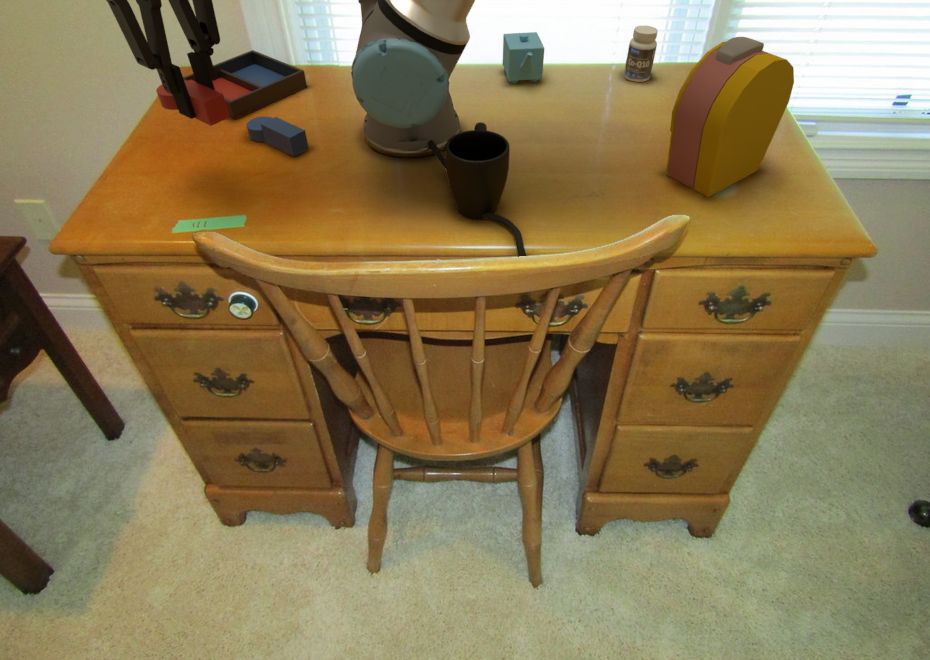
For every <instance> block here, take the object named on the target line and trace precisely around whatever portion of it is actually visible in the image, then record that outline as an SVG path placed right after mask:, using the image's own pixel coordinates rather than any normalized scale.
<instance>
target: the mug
mask: <svg viewBox="0 0 930 660" xmlns="http://www.w3.org/2000/svg"><path fill="white" fill-rule="evenodd" d="M487 128H488V127H487V124H486V123H485V122H482V121H479V122H477V123H475V125H474V129H471V130H465V131H460V133H458V134H456V135H454V136H452V137H451V138H450V139H449V140H448V141H447V143H446V145H445V150H444V152H445V158H446V169H445V171H446V177H447V182H448V186H449V189H450V193H451V195H452V199H453V201H454V203H455V205H456V209H457V213H459V215H461V216H462V217H464V218H467V219H470V220H475V221H476V220H477V221H478V220H486V219H485V218H483V217H482V215H484V214H485V213H487V212H491V213H494V214H497V211H498V209H499V205H500V202H501V200H502V197H503V194H504V191H505V188H506V184H507V180H508V176H509V171H510V154H511V153H510V151H511V147H510V142H509V141H508V139H507V138H506V137H505V136H503V135H502V134H499V133H497V132H495V131H491V130H487Z"/></svg>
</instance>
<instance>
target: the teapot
mask: <svg viewBox="0 0 930 660" xmlns="http://www.w3.org/2000/svg"><path fill="white" fill-rule="evenodd" d="M502 36H503V39H502V40H503V41H502V44H503V45H502V67H503V69H504V73H505V75H506V78H507V80H508V83H510V84H517V83H518V81H529V82H531V83H536V82H538V80H542V79H543V72H544V58H545V57H544V56H545V46H544V44H543V42H542V39H541V38H540V36H539V33H538V32H537V31H532V32H513V33H503V35H502Z"/></svg>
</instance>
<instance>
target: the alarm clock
mask: <svg viewBox="0 0 930 660" xmlns="http://www.w3.org/2000/svg"><path fill="white" fill-rule="evenodd" d="M764 46H765V43H764V42H763V41H762V42H761V41H759V40H756V39H754V38H750V37H747V36H736V37H731V38H730V39H728V40H727V41H726V40H725V41H721V42H720V43H718V44H717V45H716V46H713V47H712V48H711V49H709V50H708V51H706V53H704V55H703V56H702V57H701V58H700V59H699V60H698V61H697V63H696V64H694V66H693V68H691V70H690V71H689V73H688V76H687V77H686V79H685V81H684V82H683V84H682V86H681V87H680V89H679V91H678V93H677V97H676V99H675V103H674V105H673V108H672V111H671V119H670V120H671V121H670V130H669V131H670V137H669V138H670V139H669V146H668V148H669V149H668V156H667V164H666V172H665V173H666V176H668V177H670V178H672V179H673V180H675V181H677V182H679V183H681V184H683V185H684V186H686V187H688V188H690V189H692V190H694V191H695V192H698V193H699V194H701V195H703V196H705V197H706V198H709V197H712V196H713V195H716V194H717V193H719V192H721V191H723V190H724V189H726V188H729V187H730V186H732V185H734V184H735V183H737V182H739V181H742V180H743V179H745V178H747V177H748V176H751V175H752V174H754V173H756V172H757V171H759V169H760V167H761V164H762V162H763V160H764V158H765V156H766V153H767V151H768V150H769V147H770V144H771V142H772V140H773V138H774V136H775V133H776V131H777V129H778V127H779V124H780V122H781V120H782V118H783V116H784V114H785V112H786V110H787V107H788V105H789V102H790V99H791V96H792V91H793V89H794V85H795V74H794V71H795V69H794V66H793V65H792V64H791V62H790V61H789V60H788V59H787V58H784V57H781V56H778V55H777V54H772V53H770V52H767V51H764V48H765V47H764Z"/></svg>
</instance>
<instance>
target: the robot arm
mask: <svg viewBox="0 0 930 660" xmlns="http://www.w3.org/2000/svg"><path fill="white" fill-rule="evenodd" d="M105 1H106V2H107V4H108V5H109V8H110V10H111V12H112V14H113V17H115V20H116V22H117V24H118V26H119V29H120V31H121V32H122V34H123V37H124V38H125V40H126V43H127V45H128V47H129V49H130V51H131V53H132V55H133V57H134V59H135V61H136V63H137V64H138V65H140V66H142V67H145V68H147V69H149V70H151V71H153V70H156V71H157V74H158V77H159V79H160V82H161V85H162V84H163V88H164V90H165V91H166V92H167V93H169V94H172V95H173V97H174V99H175V102H176V105H177V108H178V110H177V111H178V113H179V114H180V115H182V116H184V117H186V118H189V119H191V120H193V119H196V118H195V117H196V114H195V112H194V109H193V106H192V103H191V100H190V97H189V93H188V90H187V87H186V85H185V82H184V79H183V77H184V76H183V74H182V71H181V68H180V66H179V65H176V64H175V63H173V61H172V57H171V52H170V48H169V44H168V38H167V33H166V30H165V29H166V28H165V23H164V19H163V15H162V10H161V8H162V7H163V4H162V0H135V2H136V3H137V6H138V9H139V13H140V16H141V17H140V18H141V21H142V26H143V30H144V31H143V30H142V27H141V25H140V23H139V21H138V19H137V16H136V14H135V12H134V10H133V8H132V5H131V3H130V2H129V1H128V0H105ZM167 1H168V3H169V5H170V7H171V9H172V11H173V13H174V15H175V17H176V20H177V22H178V23H179V26H180V28H181V30H182V32H183V34H184V36H185V37H186V40H187V43H188V44H189V47H190V49H191V50H193V51H190V52H188V53H186V55H187V58H188V61H189V64H190V67H191V70H192V74H194V77H195V80H196V82H197V83H199V84H202V85H204V86H206V87H209V88H211V89H213V90H215V88H214V85H213V82H212V78H215V70H214V67H213V65H214V63H213V60H212V57H211V56H212V55H214V53H215V50H214V48H213V47H214V46H215V45H220V44H221V43H220V42H221V36H220V31H219V26H218V22H217V18H216V17H217V16H216V12H215V8H214V3H213V0H191V1H192V5H193V7H192V5H191V3H190V0H167ZM357 1H358V3H359V4H360V14H361V29H360V34H359V36H358V43H357V45H356V46H357V47H356V51H355V56H354V59H353V60H352V64H351V72H350V73H351V79H352V80H351V81H352V82H351V83H352V89H353V92H354V95H355V98H356V100H357V102H358V103H359V105H360V107H361V108H362V110H363V111H364V112H366V115H365V117H364V119H363V135H364V141H365V143H366V144H367V145H368V146H369V147H370V149H372V150H374V151H376V152H378V153H380V154H383V155H386V156H390V157H396V158H406V159H407V158H409V159H410V158H422V157H427V156H432V155H434V156H435V157H436V158H437V159H438V161H439V162H440V164H441V166H442V167H443V168H444V169H445V170H446V156H445V155H444V154H443V153H442V152H443V151H445V145H446V143H447V141H448V140H449V139H450V138H451V137H452V136H454V135H456V134H458V133H461V123H460V119H459V115H458V113H457V110H456V109H455V107H454V103H453V99H452V96H451V93H450V82H449V79H450V77H451V75H452V73H453V72H454V70H455V67H456V66H457V65H458V62H459V61H460V58H461V57H462V54H463V53H464V50H465V49H466V47H467V44H468V43H469V42H470V39H471V34H470V31H469V28H468V24H467V17H468V16H469V14H470V12H471V10H472V8H473V5H474V4H475V2H476V0H357ZM193 9H194V10H193ZM482 217H483V218H485V219H484V220H489V221H492V222H496V223H498V224H500V225H502V226H504V227H506V228H507V229H508V230H509V231H510V232H511V234H512V236H513V239H514V242H515V247H516V252H517V256H518V257H519V256H526V257H527V254H526V253H527V252H526V250H525V246H524V240H523V236H522V232H521V230H520V229H519V228H518V227H517V226H516V224H515V223H513V222H512V221H511V220H510V219H508V218H506V216H503V215H500V214H497V213H495V214H494V213H491V212H487V213H485V214H484V215H482Z"/></svg>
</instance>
